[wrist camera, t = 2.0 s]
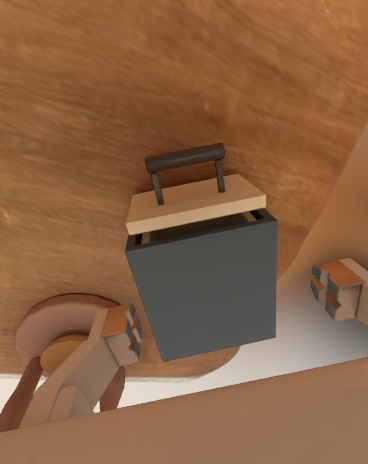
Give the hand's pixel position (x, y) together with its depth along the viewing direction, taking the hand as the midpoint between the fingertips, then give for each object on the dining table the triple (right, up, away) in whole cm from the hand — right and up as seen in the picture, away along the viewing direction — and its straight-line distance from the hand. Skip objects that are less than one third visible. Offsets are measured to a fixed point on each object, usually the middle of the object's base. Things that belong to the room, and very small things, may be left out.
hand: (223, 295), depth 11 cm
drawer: (-1, +4, +19) cm, 19 cm away
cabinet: (0, 0, +22) cm, 22 cm away
